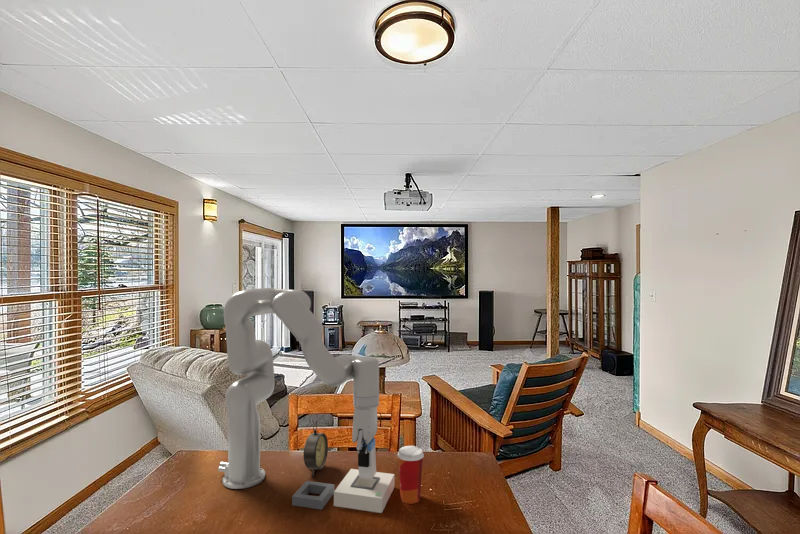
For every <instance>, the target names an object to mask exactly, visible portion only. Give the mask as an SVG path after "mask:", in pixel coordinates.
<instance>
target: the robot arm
mask: <svg viewBox="0 0 800 534" xmlns="http://www.w3.org/2000/svg"><path fill="white" fill-rule="evenodd" d="M311 305H312V301H311V298H310V296H309V295H308V294H307V292H305V291H303V290H300V289H288V288H287V289H286V288H272V287H261V288H247V289H243V290H239V291H237V292H236V293H233V295H231V296H230V297H229V298H228V299H227V301H226V302H225V304H224V307H223V320H224V322H223V323H224V326H225V336H226V337H225V338H226V355H227V363H228V369H229V371H230V372H231V373H232V374H234V375H236V376H243V375H246V374H247V376H245V377H242V378H240V379H237V380H236V381H234V382H233V383H231V384H230V385H229V387H228V388H227V389H226V392H225V397H224V398H225V400H224V401H225V402H224V403H225V406H226V411H227V420H228V421H227V422H228V423H227V424H228V425H227V427H228V430H227V431H228V434H227V436H228V437H227V438H228V440H227V441H228V442H227V446H228V449H227V456H228V457H227V462H226V461H220V462H219V466H218V468H217V472H221V473H224V475H223V476H222V485H223V486H224V487H226V488H229V489H234V490H238V489H239V490H241V489H247V488H251V487H255V486H256V485H259V484H260V483H262V482H263V480H264V479H265V477H266V471H265V469H264V468H262V467H261V417H260V413H259V410H258V405H259V404H260V403H262V402H265V400H267V399H268V398H270V397H271V396H272V395H273V393H274V389H275V383H276V382H275V381H276V380H275V370H274V369H275V368H274V356H273V351H272V348H271V347H270V345H269V344H268V343H267V342H266V341H264V340H262V339H256V329H255V326H254V323H253V321H252V320H251V318H252V317H256V316H262V315H267V314H275V316H277V318H278V319H279V320H280V321H281V323H282V324H283V325H284V326H285V327H286V328H287V329H288V330H289V332H291V334H292V335H293V336H294V337H295V339H296V340H297V341H298V342H299V344H300V347H301V348H300V349H301V352H302V354H303V357H304V360H305V362H306V364H307V366H308V367H309V368H310V369H311V371H312V372H313V373H314V374H315V375H316V377H317V378H318V379H319V380H320V381H321V382H322V383H323V384H325V385H327V386H328V387H333V388H335V387H339V386H341V385H343V384H344V383H345V382H347V381H349V380H352V379H353V383H352V384H353V386H352V391H353V392H352V395H353V398H352V399H353V401H352V404H353V407H354V410H353V415H352V416H353V418H352V433H351V435H352V438H351V439H352V440H351V441H352V442H353V443H356V450H357V449H358V450H357V466H358V467H359V466H360V467H369V453H368V444H369V442H370V441H371V440H372V438H375V435H377V432H378V407H379V406H380V363H379V360H378V358H377V357H374V356H358V355H357V356H356V355H353V354H346V353H343V354H340V355H338V356H335V357H334V355H333V354H332V353H331V351H329V349H328V348H327V347H326V345H325V344H324V341H323V337H322V335H323V333H322V332H323V324H322V322H321V320H319V319H318V318H317V316H316V315H315V314H314V313H313V312H312V311H311ZM363 440H366V442H365V441H363ZM362 444H364V445H366V446H365V447H364V446H363V445H362Z"/></svg>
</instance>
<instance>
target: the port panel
mask: <svg viewBox="0 0 800 534" xmlns="http://www.w3.org/2000/svg"><path fill="white" fill-rule="evenodd" d="M394 488H395V473H390V472H389V473H388V472H387V473H386V472H379V471H376V474H375V475H374V477H373V479H366V478H359V469H357V468H356V469H355V468H350V470H349V471H348V472H347V473H346V475H345V476H344V477H343V479H342V480H341V481H340V483H339V484H338V485H337V487H336V488H335V489H334V494H333V507H337V508H345V509H352V510H358V511H366V512H370V513H379V514H382V513H383V511H384V510H385V507H386V505H387V503H388V502H389V499H390V498H391V496H392V495H391V494H392V493H393V491H394Z"/></svg>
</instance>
